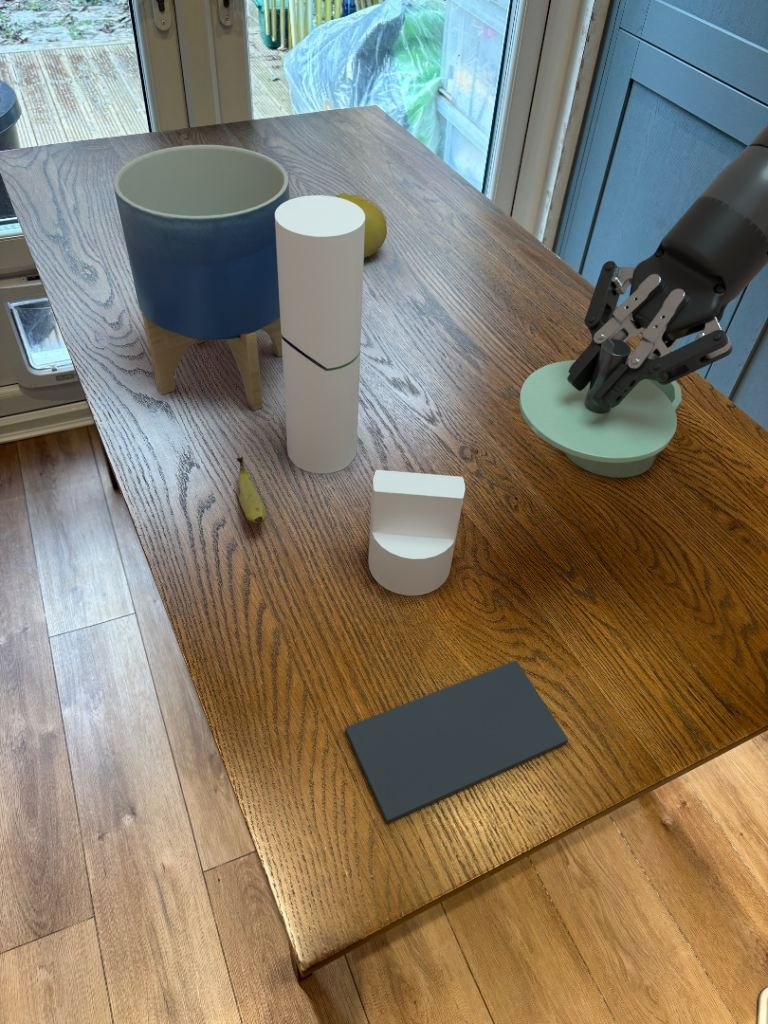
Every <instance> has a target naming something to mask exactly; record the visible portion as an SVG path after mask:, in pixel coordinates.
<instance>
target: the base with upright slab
mask: <svg viewBox="0 0 768 1024" xmlns="http://www.w3.org/2000/svg"><path fill="white" fill-rule="evenodd" d="M373 475H374V476H373V479H372V490H371V509H370V521H369V524H370V525H369V541H368V555H367V556H368V557H367V562H368V569H369V572H370V574H371V576H372V577H373V579H374V580H375V581H376V582H377V584H378V585H380V586H382V587H383V588H384V589H386V590H387V591H390V592H392V593H394V594H397V595H403V596H408V597H409V596H410V597H411V596H413V597H414V596H422V595H427V594H431V593H432V592H434V591H436V590H438V589H439V588H440V587H441V586H442V585H443V584H444V583H446V581H447V579H448V577H449V576H450V573H451V572H450V571H451V567H452V562H453V556H454V551H455V545H456V541H457V534H458V530H459V524H460V518H461V513H462V509H463V503H464V497H465V492H466V485H465V479H464V477H463V476H456V475H444V474H433V473H421V472H409V471H397V470H386V469H385V470H383V469H376V470H375V472H374V474H373Z"/></svg>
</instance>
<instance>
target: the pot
mask: <svg viewBox="0 0 768 1024" xmlns="http://www.w3.org/2000/svg"><path fill="white" fill-rule="evenodd" d="M630 356H631V355H630ZM630 356H629V357H630ZM647 380H649V381H650V382H652V383H653V384H655V385H656V386H657V387H658V388H659V389H660V390H661V391H663V392H664V393H665V395H666V396H667V397H668V398H669V400H670V401H671V403H672V405H673V406H674V409H675V412H676V414H677V413H678V411H679V409H680V406H681V403H682V402H683V397H682V396H683V395H682V388H681V386H680V384H679V383H678V382H677V380H675V381H673V382H671V383H669V384H666V385H661V384H659V382H658V381H654V380H650V379H647ZM562 452H563V453H564V455H565V456H566V457H567V458H568V459H569V460H570V461H571V462H572V463H574V464H575V465H576V466H578V467H579V468H581V469H583V470H585V471H587V472H590V473H592V474H595V475H599V476H602V477H607V478H613V479H614V478H616V479H622V478H623V479H624V478H632V477H637V476H639V475H641V474H644V473H645V472H647V471H648V470H649V469H651V468H652V466H653V465H654V464H655V462H656V459H657V458H658V457H659V455H660V452H659V453H657V454H655V455H653V456H651V457H648V458H646V459H643V460H639V461H634V462H626V463H607V462H598V461H592V460H588V459H583V458H580V457H577V456H574V455H571V454H568V453H566V452H564V451H562Z"/></svg>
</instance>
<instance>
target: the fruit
mask: <svg viewBox="0 0 768 1024" xmlns="http://www.w3.org/2000/svg"><path fill="white" fill-rule="evenodd" d="M334 197H338V198H342V199H345V200H348V201H350V202H352V203H354V204H356V205H358V206H359V207H360V208H361V209H362V210H363V212H364V214H365V236H364V259H366V258H368V257H371V256H373V255H374V254H375V253H376V252H378V251H379V250H380V249H381V248H382V247H383V244H384V243H385V241H386V238H387V234H388V228H387V218H386V216H385V214H384V212H383V208H382V207H381V206H380V205H379V204H378V203H376V202H375V201H374V200H373V199H370V198H369V197H366V196H364V195H359V194H348V193H344V192H343V193H339V194H337V195H336V196H334ZM367 256H368V257H367ZM365 257H366V258H365Z"/></svg>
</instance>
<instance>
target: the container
mask: <svg viewBox="0 0 768 1024" xmlns="http://www.w3.org/2000/svg"><path fill="white" fill-rule="evenodd" d="M275 228H276V246H277V265H278V284H279V302H280V321H281V334H282V335H283V336H284V337H285V338H283V337H281V339H282V356H281V358H282V375H283V392H284V393H283V394H284V411H285V414H284V415H285V429H286V431H285V432H286V449H287V450H286V451H287V456H288V458H289V460H290V461H291V462H292V464H293V465H295V467H297V468H298V469H301V470H302V471H305V472H307V473H312V474H319V475H324V474H333V473H337V472H340V471H342V470H344V469H345V468H347V467H349V466H350V465H351V464H352V463H353V462H354V460H355V458H356V457H357V453H358V451H357V450H358V426H359V425H358V424H359V400H360V399H359V397H360V394H359V393H360V372H361V371H360V369H361V343H362V342H361V341H362V318H363V317H362V316H363V315H362V313H363V292H364V291H363V288H364V287H363V286H364V263H365V262H364V261H365V258H364V236H365V214H364V212H363V210H362V209H361V208H360V207H359V206H358V205H356V204H354V203H352V202H350V201H348V200H345V199H342V198H338V197H335V196H331V195H321V194H319V195H318V194H317V195H316V194H314V195H304V196H298V197H294V198H290V199H289V200H288V201H286V202H284V203H283V204H281V205H280V206H279V207H278V208H277V209H276V211H275Z"/></svg>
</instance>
